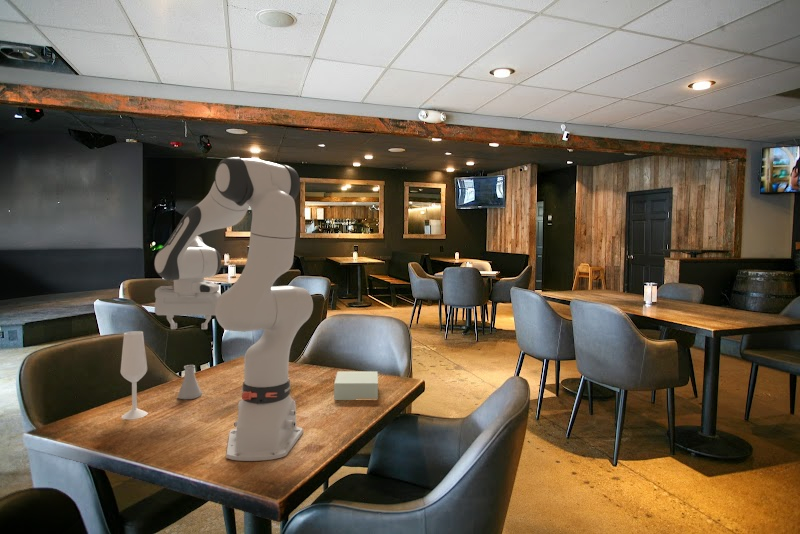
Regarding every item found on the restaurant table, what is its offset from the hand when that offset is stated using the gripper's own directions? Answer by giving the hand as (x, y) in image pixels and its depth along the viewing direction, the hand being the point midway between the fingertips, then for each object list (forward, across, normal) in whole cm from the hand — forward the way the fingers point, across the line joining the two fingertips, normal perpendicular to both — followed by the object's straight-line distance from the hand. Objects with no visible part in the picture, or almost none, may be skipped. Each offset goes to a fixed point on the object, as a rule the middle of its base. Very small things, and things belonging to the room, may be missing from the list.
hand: (189, 328), depth 151 cm
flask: (+22, 0, 0) cm, 22 cm away
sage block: (+22, +54, 0) cm, 59 cm away
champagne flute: (+22, -10, -16) cm, 29 cm away
